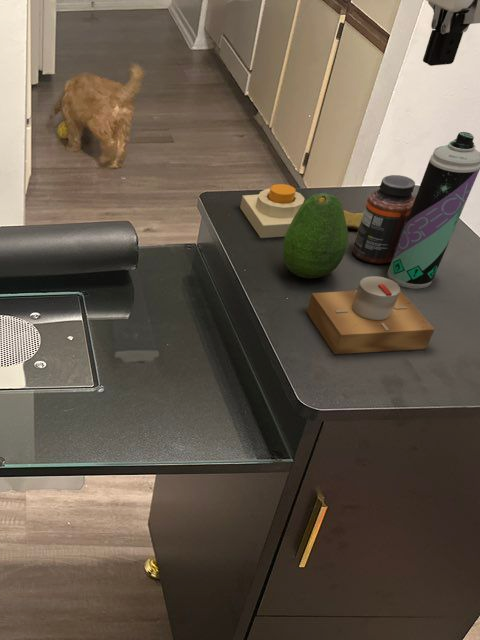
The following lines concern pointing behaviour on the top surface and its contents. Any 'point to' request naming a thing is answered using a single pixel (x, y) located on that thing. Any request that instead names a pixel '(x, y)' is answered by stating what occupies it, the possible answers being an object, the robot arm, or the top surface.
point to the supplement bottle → (384, 220)
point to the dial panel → (367, 325)
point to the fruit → (316, 237)
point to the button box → (270, 213)
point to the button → (282, 194)
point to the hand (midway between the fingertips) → (437, 62)
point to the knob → (375, 298)
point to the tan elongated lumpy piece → (353, 219)
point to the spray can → (435, 212)
